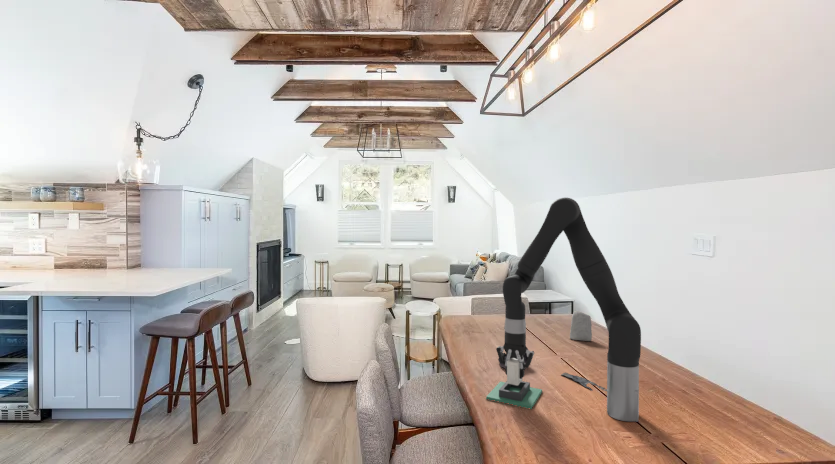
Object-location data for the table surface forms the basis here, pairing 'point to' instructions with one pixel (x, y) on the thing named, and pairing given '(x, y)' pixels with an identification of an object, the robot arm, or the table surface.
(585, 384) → the driftwood
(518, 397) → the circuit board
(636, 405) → the robot arm
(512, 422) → the table surface
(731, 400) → the table surface
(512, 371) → the plug
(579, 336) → the decorative stone
